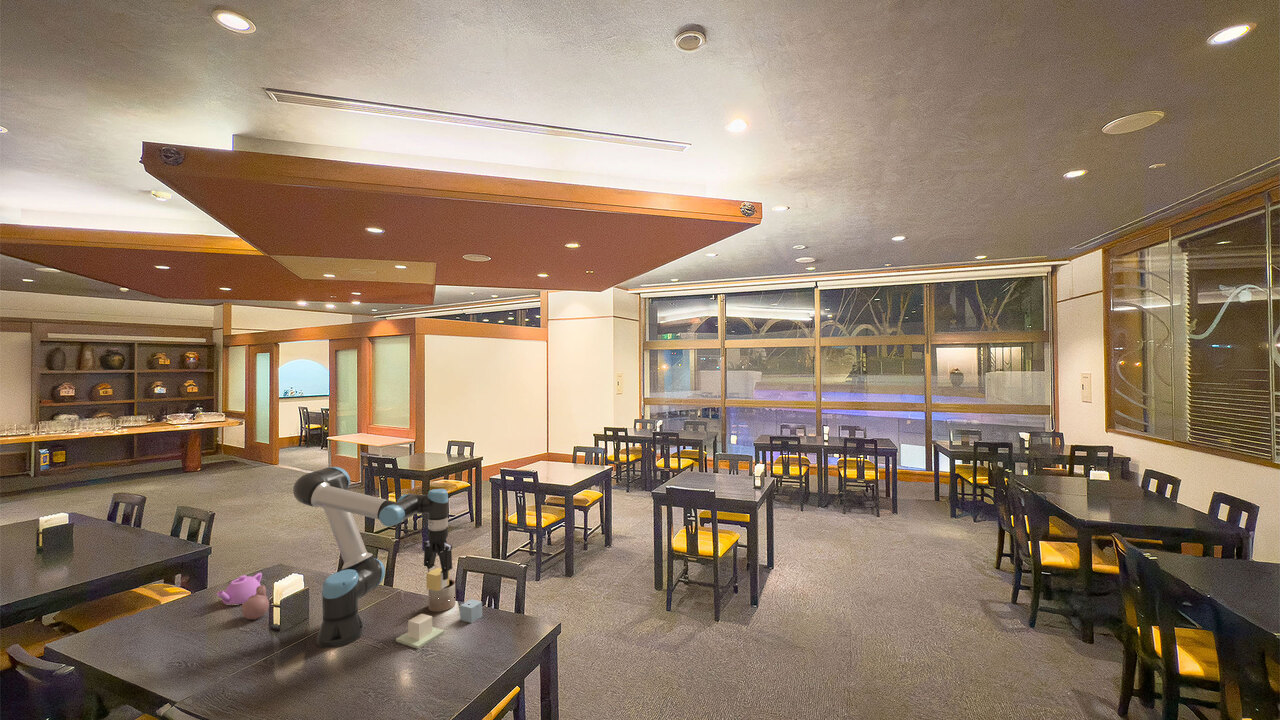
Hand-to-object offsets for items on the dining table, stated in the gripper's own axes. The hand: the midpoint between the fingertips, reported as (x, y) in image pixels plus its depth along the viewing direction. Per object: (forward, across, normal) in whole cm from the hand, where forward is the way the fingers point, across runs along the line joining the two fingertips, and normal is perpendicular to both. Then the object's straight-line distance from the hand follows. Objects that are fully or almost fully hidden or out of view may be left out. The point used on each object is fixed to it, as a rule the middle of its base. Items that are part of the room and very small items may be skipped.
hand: (437, 585), depth 197 cm
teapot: (+15, -96, -24) cm, 100 cm away
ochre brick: (0, 0, 0) cm, 1 cm away
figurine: (+15, -73, -30) cm, 80 cm away
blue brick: (+15, +10, +8) cm, 20 cm away
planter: (+15, -9, +10) cm, 20 cm away
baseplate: (+15, +3, -11) cm, 18 cm away
